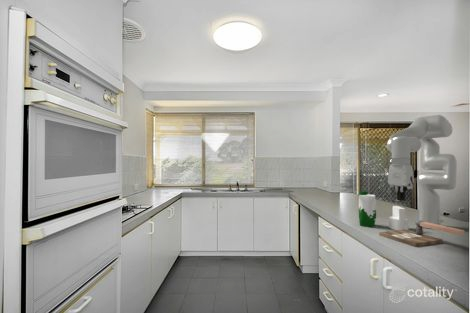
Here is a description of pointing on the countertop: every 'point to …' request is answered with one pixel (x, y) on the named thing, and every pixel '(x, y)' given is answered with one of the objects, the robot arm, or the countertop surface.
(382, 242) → the countertop surface
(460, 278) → the countertop surface
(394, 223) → the base with upright slab
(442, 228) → the swing arm
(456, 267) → the countertop surface
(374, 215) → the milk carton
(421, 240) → the label board
